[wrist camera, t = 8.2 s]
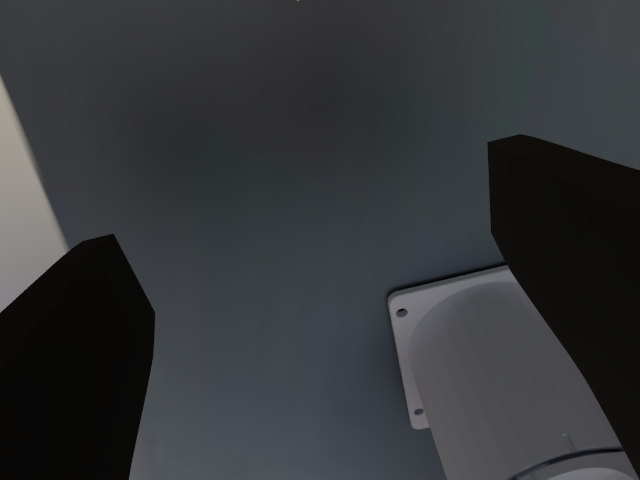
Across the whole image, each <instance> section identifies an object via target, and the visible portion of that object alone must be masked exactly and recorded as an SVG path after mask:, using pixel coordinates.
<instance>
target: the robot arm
mask: <svg viewBox="0 0 640 480" xmlns="http://www.w3.org/2000/svg"><path fill="white" fill-rule="evenodd" d="M488 165H489V190H490V215H491V233H492V235H493V237H494V239H495V241H496V243H497V245H498V247H499V249H500V252H501V254H502V256H503V258H504V259H505V261H506V263H507V265H505V266H501V267H496V268H492V269H488V270H484V271H480V272H475V273H471V274H467V275H463V276H458V277H454V278H450V279H446V280H442V281H437V282H433V283H429V284H425V285H421V286H416V287H412V288H408V289H404V290H399V291H396V292H394V293H392V294H391V295H390V296H389V298H388V307H389V312H390V318H391V323H392V328H393V333H394V339H395V344H396V349H397V354H398V360H399V365H400V370H401V375H402V381H403V386H404V391H405V396H406V402H407V407H408V412H409V417H410V422H411V425H412V427H413V428H415V429H424V428H429V427H430V429H431V432H432V435H433V438H434V441H435V444H436V447H437V450H438V453H439V456H440V459H441V463H442V466H443V469H444V472H445V475H446V478H447V480H640V170H637V169H633V168H630V167H626V166H623V165H620V164H617V163H613V162H610V161H607V160H604V159H601V158H597V157H594V156H591V155H588V154H585V153H582V152H579V151H576V150H573V149H570V148H567V147H564V146H561V145H558V144H555V143H552V142H548V141H545V140H542V139H538V138H535V137H531V136H526V135H521V134H519V135H515V136H511V137H507V138H503V139H499V140H495V141H491V142H488ZM403 308H404V310H403V311H400V312H397V311H398V310H399V309H403ZM154 330H155V312H154V310H153V308H152V306H151V304H150V302H149V300H148V298H147V296H146V295H145V293H144V291H143V289H142V287H141V285H140V283H139V281H138V279H137V277H136V276H135V274H134V272H133V270H132V268H131V266H130V264H129V262H128V260H127V258H126V257H125V255H124V253H123V251H122V249H121V247H120V245H119V243H118V241H117V239H116V238H115V236H114V234H110V235H106V236H102V237H98V238H94V239H90V240H86V241H82V242H81V243H79V244H78V245H77V246H75V247H74V248H72V249H71V250H70V251H69V252H67V253H66V254H65V255H64V256H63V257H61V258H60V259H59V260H58V261H57V262H56V263H55V264H54V265H52V266H51V267H50V268H49V269H48V270H47V271H46V272H45V273H44V274H42V276H40V277H39V278H38V279H37V280H36V281H35V282H34V283H33V284H31V285H30V286H29V287H28V288H27V289H26V290H25V291H24V292H23V293H22V294H21V295H19V296H18V297H17V298H16V299H15V300H14V301H13V302H12V303H11V304H10V305H8V306H7V307H6V308H5V309H4V310H3V311H2V312H1V313H0V480H129V475H130V469H131V463H132V458H133V453H134V449H135V444H136V439H137V434H138V429H139V425H140V420H141V415H142V410H143V406H144V401H145V396H146V391H147V386H148V381H149V376H150V371H151V365H152V360H153V349H154Z"/></svg>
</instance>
